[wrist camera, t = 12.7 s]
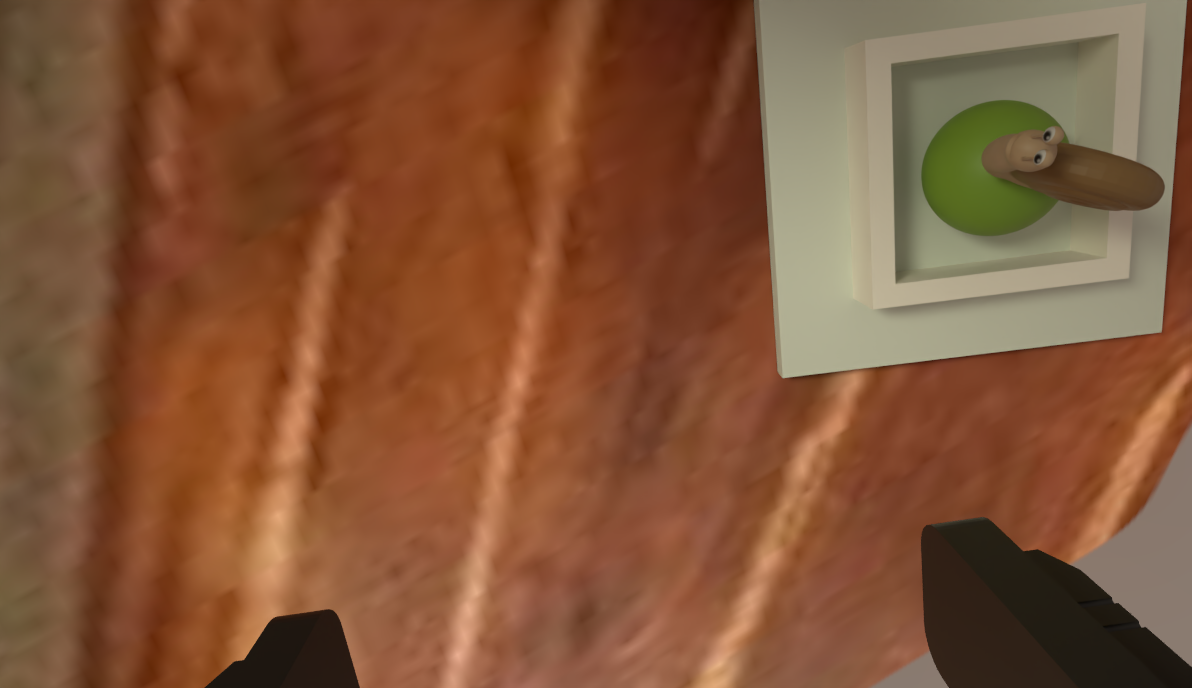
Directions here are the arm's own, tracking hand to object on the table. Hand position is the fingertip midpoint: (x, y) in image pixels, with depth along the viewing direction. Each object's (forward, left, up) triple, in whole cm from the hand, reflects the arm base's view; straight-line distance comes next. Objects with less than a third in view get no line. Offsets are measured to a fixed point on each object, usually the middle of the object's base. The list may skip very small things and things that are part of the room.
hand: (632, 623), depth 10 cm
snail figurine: (-4, +16, -25) cm, 30 cm away
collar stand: (-3, +17, -26) cm, 31 cm away
